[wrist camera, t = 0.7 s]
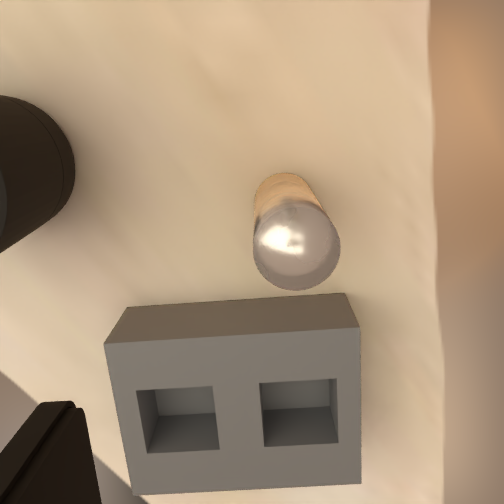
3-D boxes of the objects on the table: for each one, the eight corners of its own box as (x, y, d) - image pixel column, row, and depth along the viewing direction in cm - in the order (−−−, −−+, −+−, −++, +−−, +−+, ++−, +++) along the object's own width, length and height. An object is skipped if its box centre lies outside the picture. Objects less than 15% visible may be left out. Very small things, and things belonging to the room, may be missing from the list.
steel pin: (252, 175, 31) (249, 210, 21) (312, 170, 31) (339, 204, 21) (256, 232, 32) (256, 293, 22) (314, 228, 32) (341, 287, 22)
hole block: (127, 307, 34) (103, 343, 29) (344, 292, 34) (360, 327, 28) (150, 441, 38) (133, 495, 33) (346, 430, 37) (361, 483, 32)
